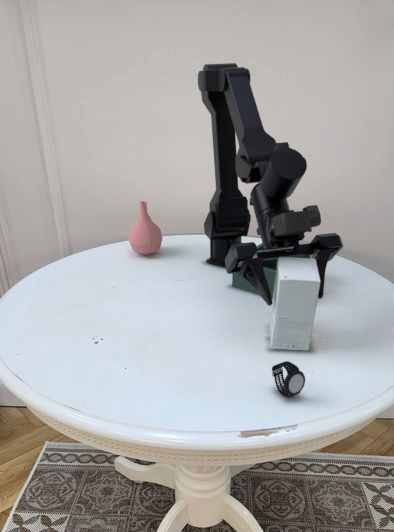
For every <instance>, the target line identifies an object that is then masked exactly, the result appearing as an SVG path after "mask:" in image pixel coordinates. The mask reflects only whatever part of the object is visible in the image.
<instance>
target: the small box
mask: <svg viewBox="0 0 394 532" xmlns="http://www.w3.org/2000/svg"><path fill="white" fill-rule="evenodd" d="M320 283H321V280H320V276H319V271H318V267H317V262H316V259H310V258H294V257H278V260H277V268H276V276H275V284H274V292H273V298H272V302H273V303H272V305H271V310H270V317H269V336H270V337H269V339H270V348H271V349H273V350H274V349H275V350H291V351H306V352H307V351H308V352H309V351H310V347H311V339H312V334H313V327H314V323H315V316H316V310H317V306H318V305H317V304H318V300H319V298H318V294H319V289H320Z"/></svg>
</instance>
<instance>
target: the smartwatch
mask: <svg viewBox="0 0 394 532" xmlns="http://www.w3.org/2000/svg"><path fill="white" fill-rule="evenodd" d="M283 368H284V369H285V371H286V376H285V378H284V369H283ZM271 375H272V377H274V383H275V386H276V388H277V391H278V392H279V394H280V395H281V396H283V397H285V398H288V399H289V398H293V397H295V396H297V395H299V394H301V391H302V390H303V389H304V386H305V384H306V376H305V374H304V372H303V371H301V370H300V368H299V366H297V365H296V364H294V363H292V362H291V361H289V360H286V361H282V362H280V363H277V364H274V365H273V366H272V367H271Z"/></svg>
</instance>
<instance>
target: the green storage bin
mask: <svg viewBox="0 0 394 532" xmlns="http://www.w3.org/2000/svg"><path fill="white" fill-rule="evenodd" d="M256 246H257V249H264V247H263V243H262V242H261V243H260V244H258V245H256ZM294 258H307V256H300V257H294ZM277 260H278V259H275V260H266V261H263V269H264V273H265V277H266V280H267V283H268V286H269V289H270V292H271V297H272V299H273V292H274V284H275V276H276V268H277ZM231 277H232V278H231V287H232V288H234V289H235V288H236V289H239V290H242V291H247V292H249V293H253V294H257V295H259V293H258V292H257V291H256V290H255V289H254V287H253V286H252V285H250V284H249V283H248V282H247V281H246V280H245V279H244V278H243V277H238V276H237V273H233V274H232V276H231Z"/></svg>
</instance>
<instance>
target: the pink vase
mask: <svg viewBox="0 0 394 532" xmlns="http://www.w3.org/2000/svg"><path fill="white" fill-rule="evenodd" d="M128 242H129V244H130V247H131V250H132V251H133V252H134V253H137V254H142V256H150V255H152V254H153V253H156V252H158V251H159V250H161V246H162V242H163V235H162V230H161V228H160V227H159V226H158V224H157V223H155V222H154V221H153V220H152V218H151V216H150V215H149V213H148V203H147V201H140V202H139V215H138V217H137V220H136V222H134V224H133V226H132V227H131V228H130V229H129V235H128Z"/></svg>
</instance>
